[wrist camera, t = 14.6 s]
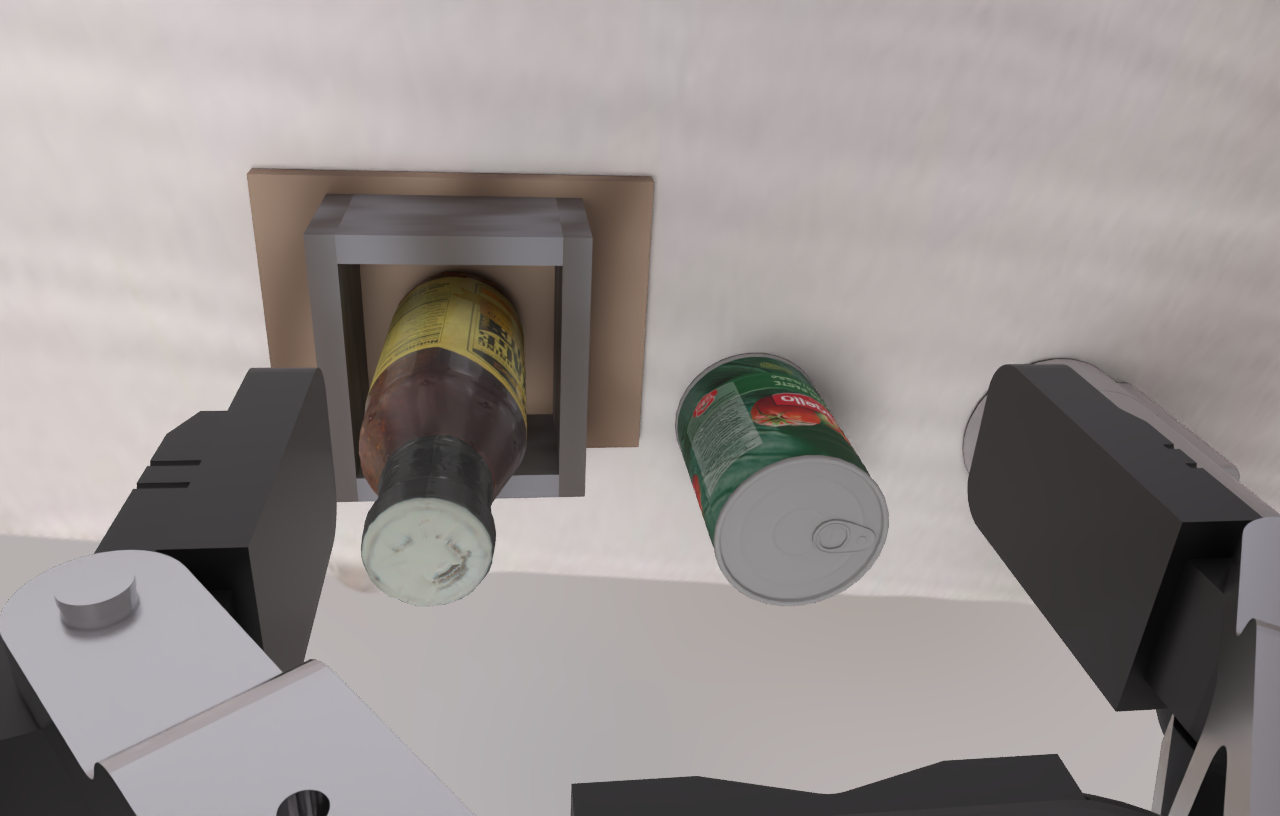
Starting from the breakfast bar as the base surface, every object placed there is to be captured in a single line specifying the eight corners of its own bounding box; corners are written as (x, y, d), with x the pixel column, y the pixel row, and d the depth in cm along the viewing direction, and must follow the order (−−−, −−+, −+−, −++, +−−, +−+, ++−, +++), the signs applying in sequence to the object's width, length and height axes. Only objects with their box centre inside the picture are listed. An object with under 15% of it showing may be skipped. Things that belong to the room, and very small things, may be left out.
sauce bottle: (533, 373, 50) (551, 634, 33) (407, 393, 50) (357, 668, 32) (509, 248, 47) (516, 461, 29) (375, 268, 47) (301, 497, 29)
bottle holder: (651, 176, 47) (673, 220, 41) (636, 437, 54) (653, 509, 47) (251, 168, 45) (212, 213, 39) (285, 442, 51) (256, 518, 45)
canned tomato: (660, 473, 55) (695, 599, 45) (694, 342, 52) (739, 447, 42) (796, 489, 56) (858, 614, 47) (837, 363, 53) (913, 470, 43)
